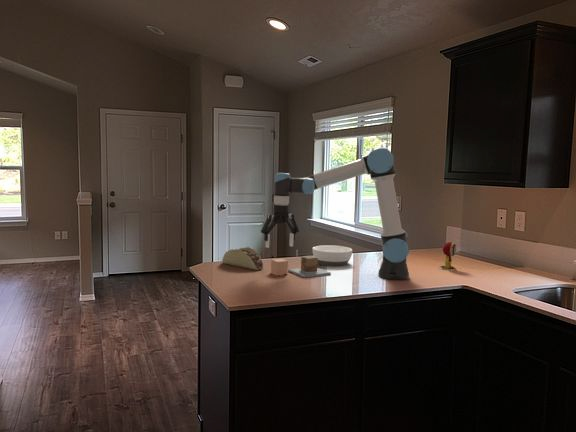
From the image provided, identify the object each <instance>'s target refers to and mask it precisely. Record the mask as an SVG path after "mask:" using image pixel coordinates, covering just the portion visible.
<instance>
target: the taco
mask: <svg viewBox="0 0 576 432" xmlns="http://www.w3.org/2000/svg"><path fill="white" fill-rule="evenodd" d="M221 260H222V261H221V263H223V264H225V265H228V266H229V265H230V266H234V267H238V268H245V269H250V270H254V271H258V270H260V271H263V269H264V263H263V260H262V257H261V255H260V253H258V252H257V251H256V250H255V249H253V248H251V247H249V246H247V247H246V246H245V247H240V248H238V249H237V248H236V249H229V250H228V251H226V252H225V253H224V255H223V257H222V259H221Z"/></svg>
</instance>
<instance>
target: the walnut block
mask: <svg viewBox="0 0 576 432" xmlns="http://www.w3.org/2000/svg"><path fill="white" fill-rule="evenodd" d="M300 260H301V261H300V268H301V270H302V271H305V272H316V271H317V268H318V258H317V257H314V256H313V255H303V256H301V258H300Z"/></svg>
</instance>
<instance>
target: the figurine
mask: <svg viewBox="0 0 576 432" xmlns="http://www.w3.org/2000/svg"><path fill="white" fill-rule="evenodd" d="M442 252H443V254H444V255H445V259H444V265H440V266H439V267H438V269H440V270H441V269H442V271H447V270H450V271H449V272H452V271H451V270H455V271H457V268H456V267H454V266H452V260H453V259H452V257H454V256H455V255H456V254H457V245H456V244H455V242H452V241H449V242H446V243H444V244H443V246H442Z"/></svg>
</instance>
